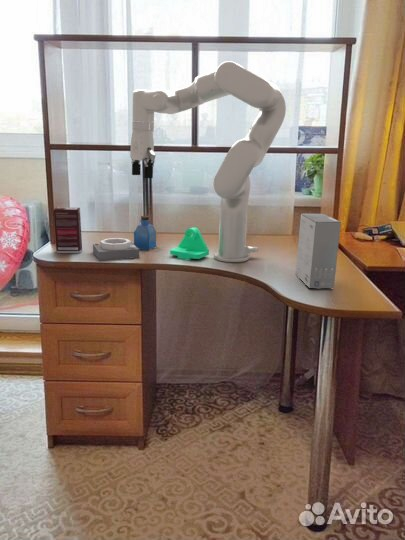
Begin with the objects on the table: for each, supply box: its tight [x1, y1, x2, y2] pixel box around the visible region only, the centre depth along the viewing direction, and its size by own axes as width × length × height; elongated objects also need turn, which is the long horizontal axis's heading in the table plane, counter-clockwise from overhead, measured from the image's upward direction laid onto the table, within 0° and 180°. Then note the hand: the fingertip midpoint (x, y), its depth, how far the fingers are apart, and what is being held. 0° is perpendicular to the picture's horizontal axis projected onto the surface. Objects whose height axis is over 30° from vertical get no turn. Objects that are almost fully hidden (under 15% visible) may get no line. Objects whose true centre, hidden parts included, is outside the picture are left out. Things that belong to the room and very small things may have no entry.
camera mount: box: [169, 227, 210, 261], centre depth 170 cm, size 12×8×10 cm, turn 62°
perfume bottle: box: [133, 215, 157, 251], centre depth 182 cm, size 6×6×12 cm
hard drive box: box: [295, 213, 342, 289], centre depth 143 cm, size 16×8×20 cm, turn 4°
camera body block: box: [92, 237, 140, 261], centre depth 171 cm, size 14×12×5 cm
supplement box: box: [52, 206, 83, 254], centre depth 172 cm, size 9×5×16 cm, turn 94°
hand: (142, 176), depth 174 cm, fingers open, 9 cm apart
